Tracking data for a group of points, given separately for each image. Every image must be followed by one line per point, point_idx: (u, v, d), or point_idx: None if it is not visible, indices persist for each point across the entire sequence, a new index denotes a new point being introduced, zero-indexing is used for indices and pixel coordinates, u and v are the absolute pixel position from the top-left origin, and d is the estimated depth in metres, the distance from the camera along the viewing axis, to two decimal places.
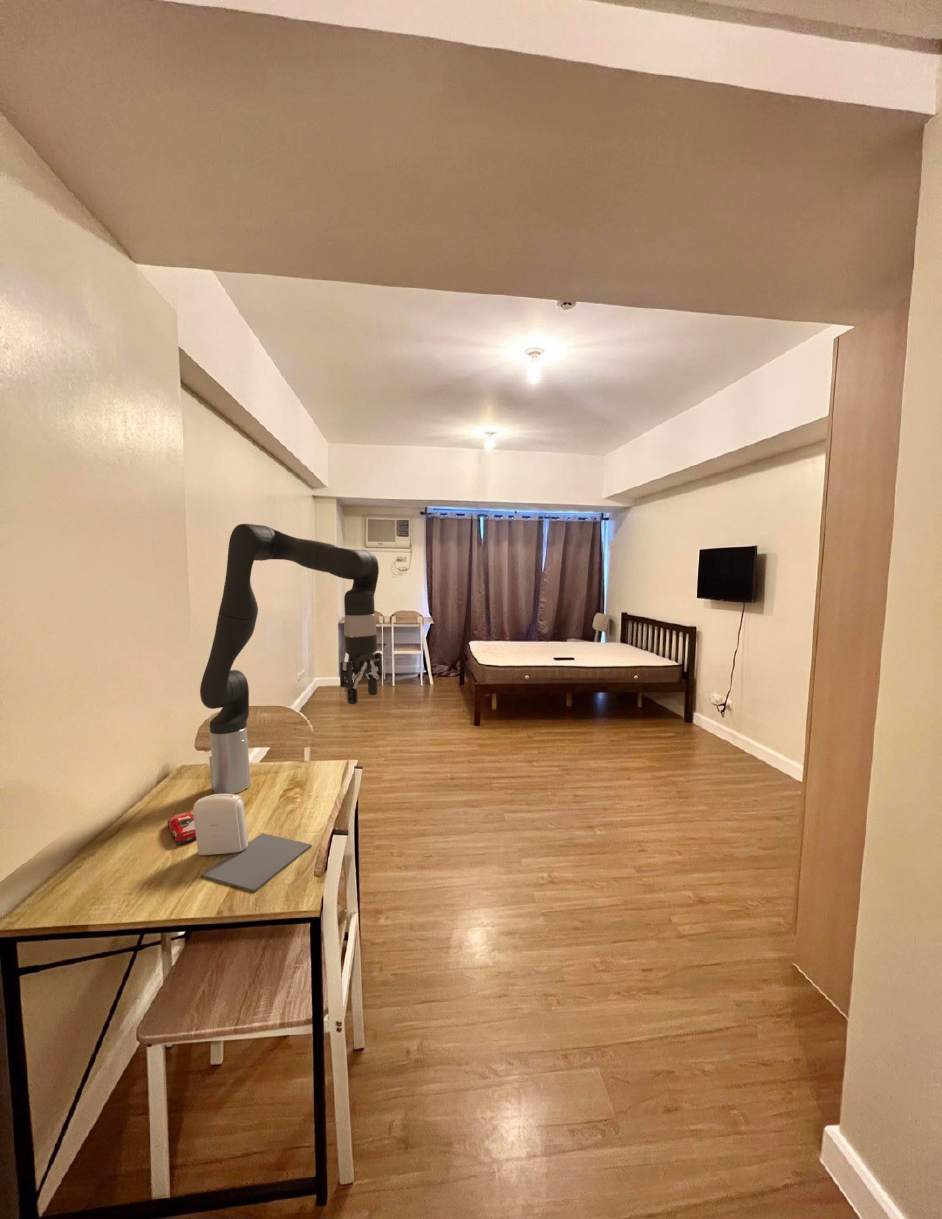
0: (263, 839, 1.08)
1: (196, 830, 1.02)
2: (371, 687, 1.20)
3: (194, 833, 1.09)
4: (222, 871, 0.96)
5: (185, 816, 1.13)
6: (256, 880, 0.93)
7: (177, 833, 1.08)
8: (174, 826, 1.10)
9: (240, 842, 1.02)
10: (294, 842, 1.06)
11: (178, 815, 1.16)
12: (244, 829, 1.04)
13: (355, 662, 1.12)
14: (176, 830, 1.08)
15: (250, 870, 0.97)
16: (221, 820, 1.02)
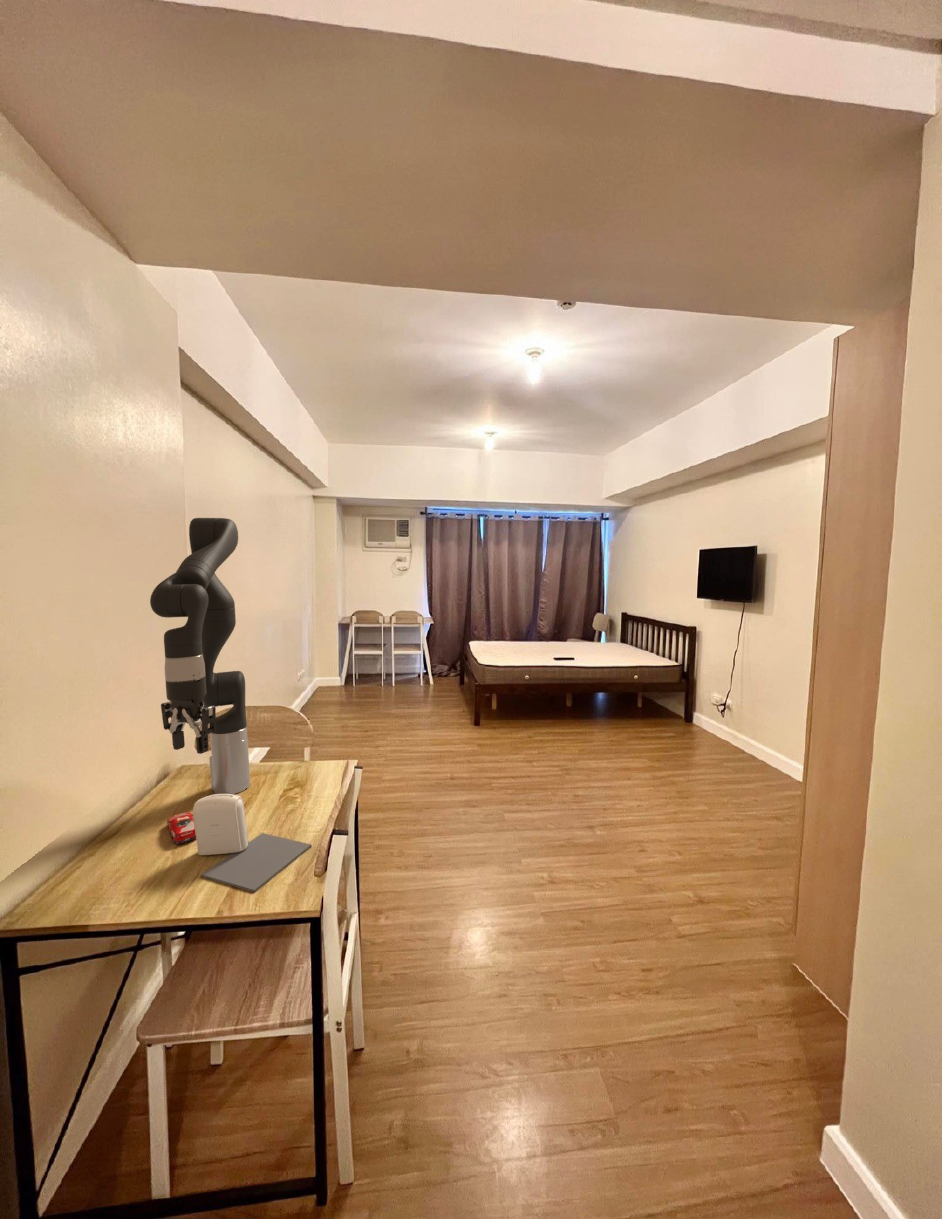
0: (263, 839, 1.08)
1: (196, 830, 1.02)
2: (179, 740, 1.07)
3: (192, 834, 1.08)
4: (222, 871, 0.96)
5: (184, 816, 1.13)
6: (256, 880, 0.93)
7: (175, 833, 1.07)
8: (173, 826, 1.10)
9: (240, 842, 1.02)
10: (294, 842, 1.06)
11: (178, 815, 1.16)
12: (244, 829, 1.04)
13: (204, 705, 1.04)
14: (174, 830, 1.08)
15: (250, 870, 0.97)
16: (221, 820, 1.02)
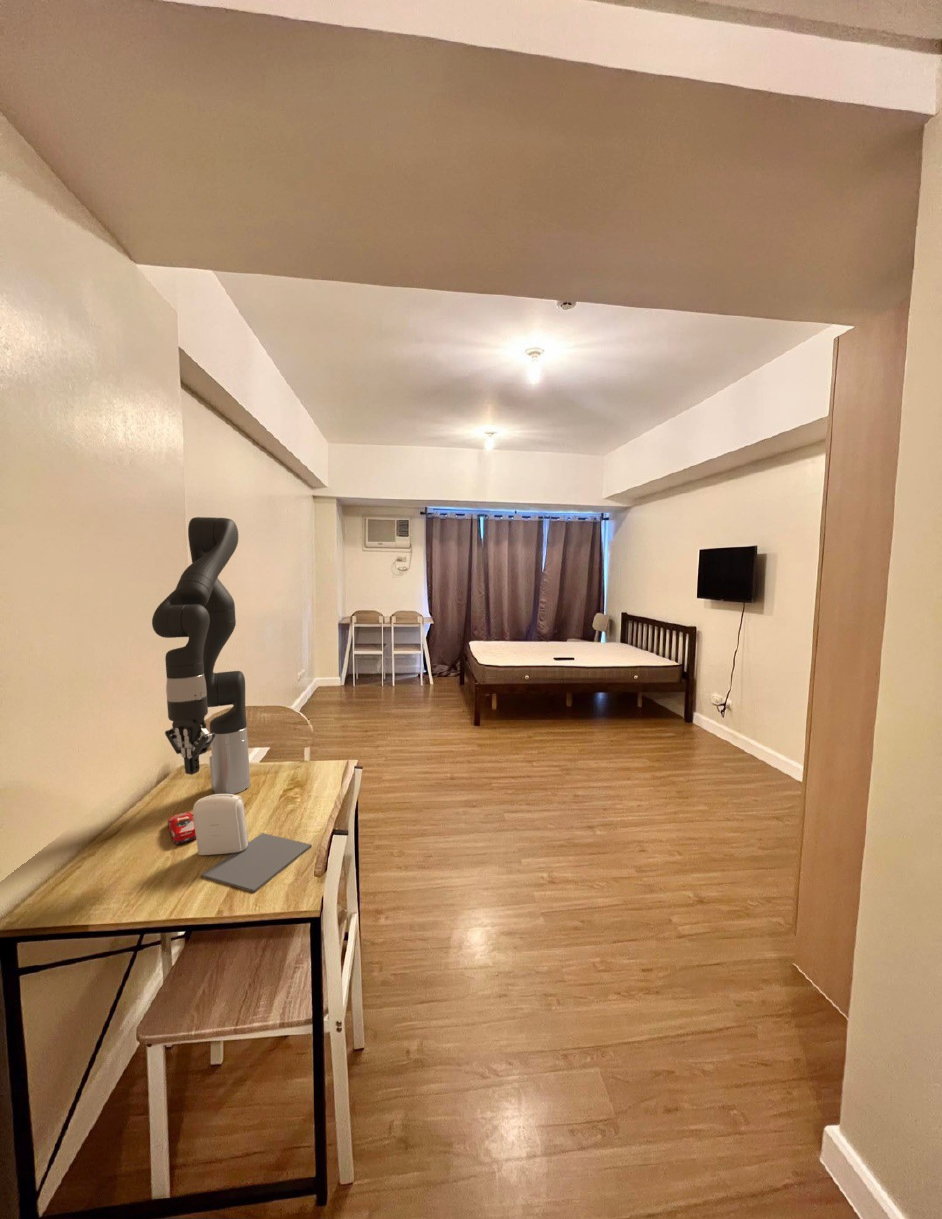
0: (263, 839, 1.08)
1: (196, 830, 1.02)
2: None
3: (192, 834, 1.08)
4: (222, 871, 0.96)
5: (184, 816, 1.13)
6: (256, 880, 0.93)
7: (175, 833, 1.07)
8: (173, 826, 1.10)
9: (240, 842, 1.02)
10: (294, 842, 1.06)
11: (178, 815, 1.16)
12: (244, 829, 1.04)
13: None
14: (174, 830, 1.08)
15: (250, 870, 0.97)
16: (221, 820, 1.02)
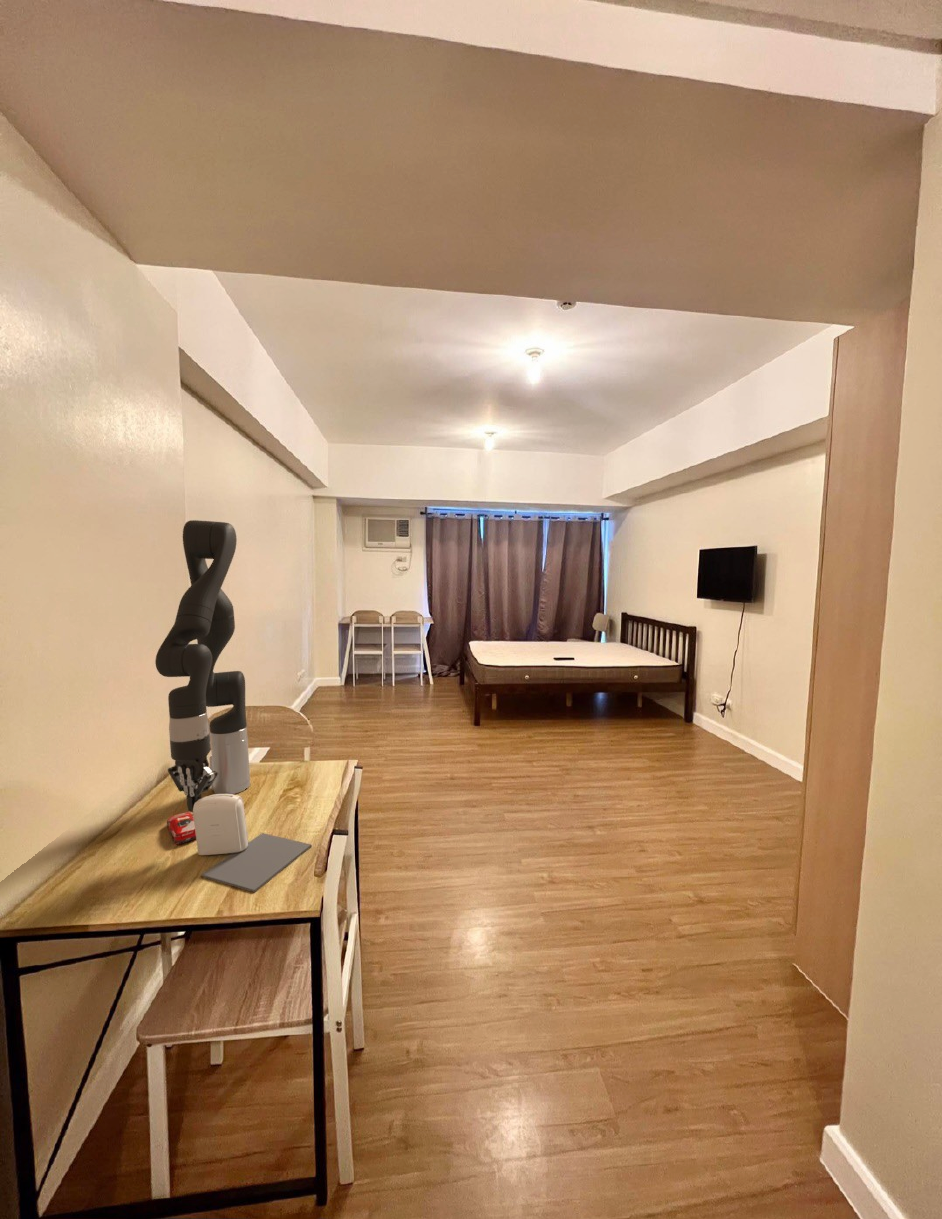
0: (263, 839, 1.08)
1: (196, 830, 1.02)
2: None
3: (193, 833, 1.09)
4: (222, 871, 0.96)
5: (184, 816, 1.13)
6: (256, 880, 0.93)
7: (176, 833, 1.07)
8: (173, 826, 1.10)
9: (240, 842, 1.02)
10: (294, 842, 1.06)
11: (178, 815, 1.16)
12: (244, 829, 1.04)
13: None
14: (175, 830, 1.08)
15: (250, 870, 0.97)
16: (221, 820, 1.02)
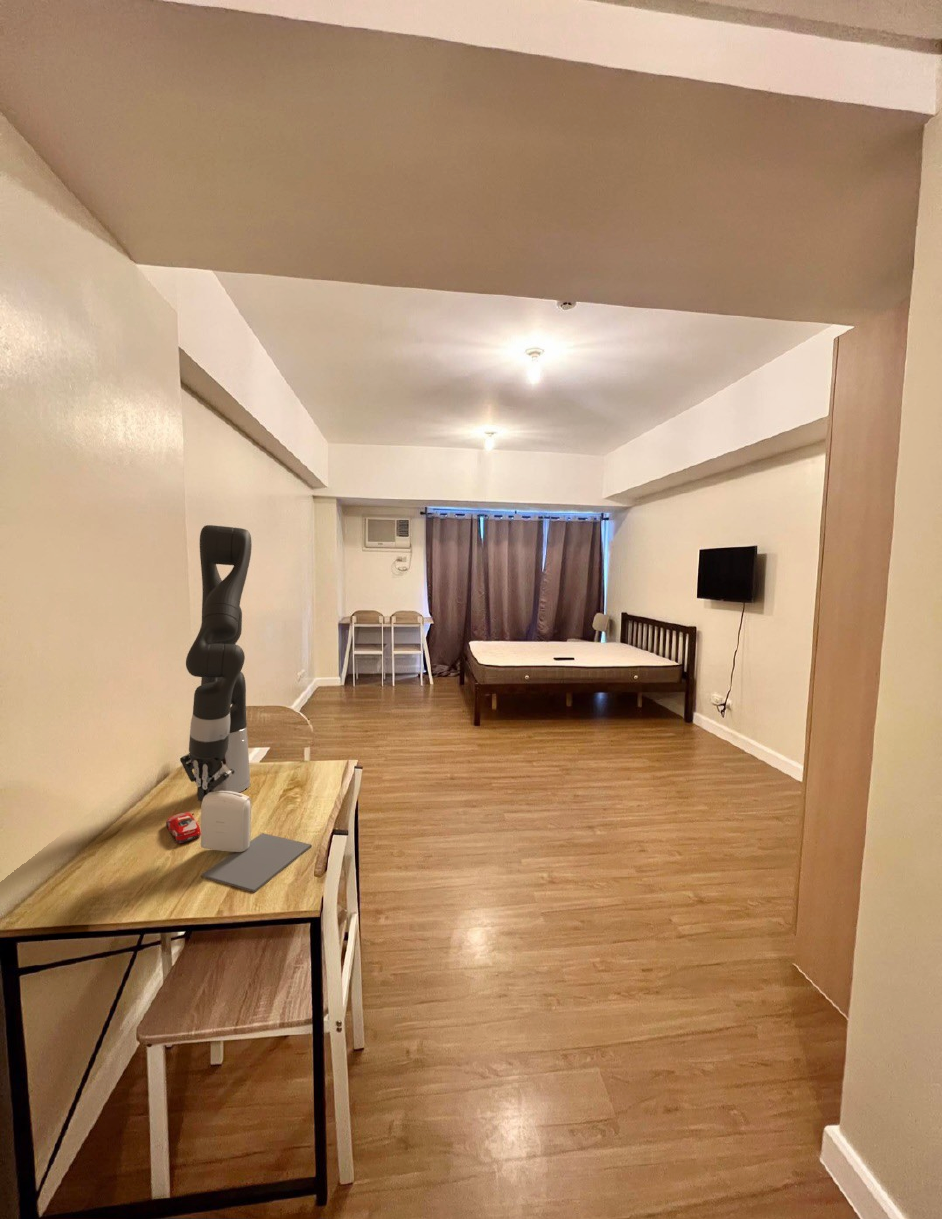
0: (263, 839, 1.08)
1: (202, 823, 1.02)
2: None
3: (195, 832, 1.09)
4: (222, 871, 0.96)
5: (185, 816, 1.13)
6: (256, 880, 0.93)
7: (178, 833, 1.08)
8: (174, 826, 1.10)
9: (242, 843, 1.02)
10: (294, 842, 1.06)
11: (177, 815, 1.16)
12: (248, 830, 1.04)
13: None
14: (176, 830, 1.08)
15: (250, 870, 0.97)
16: (227, 819, 1.01)
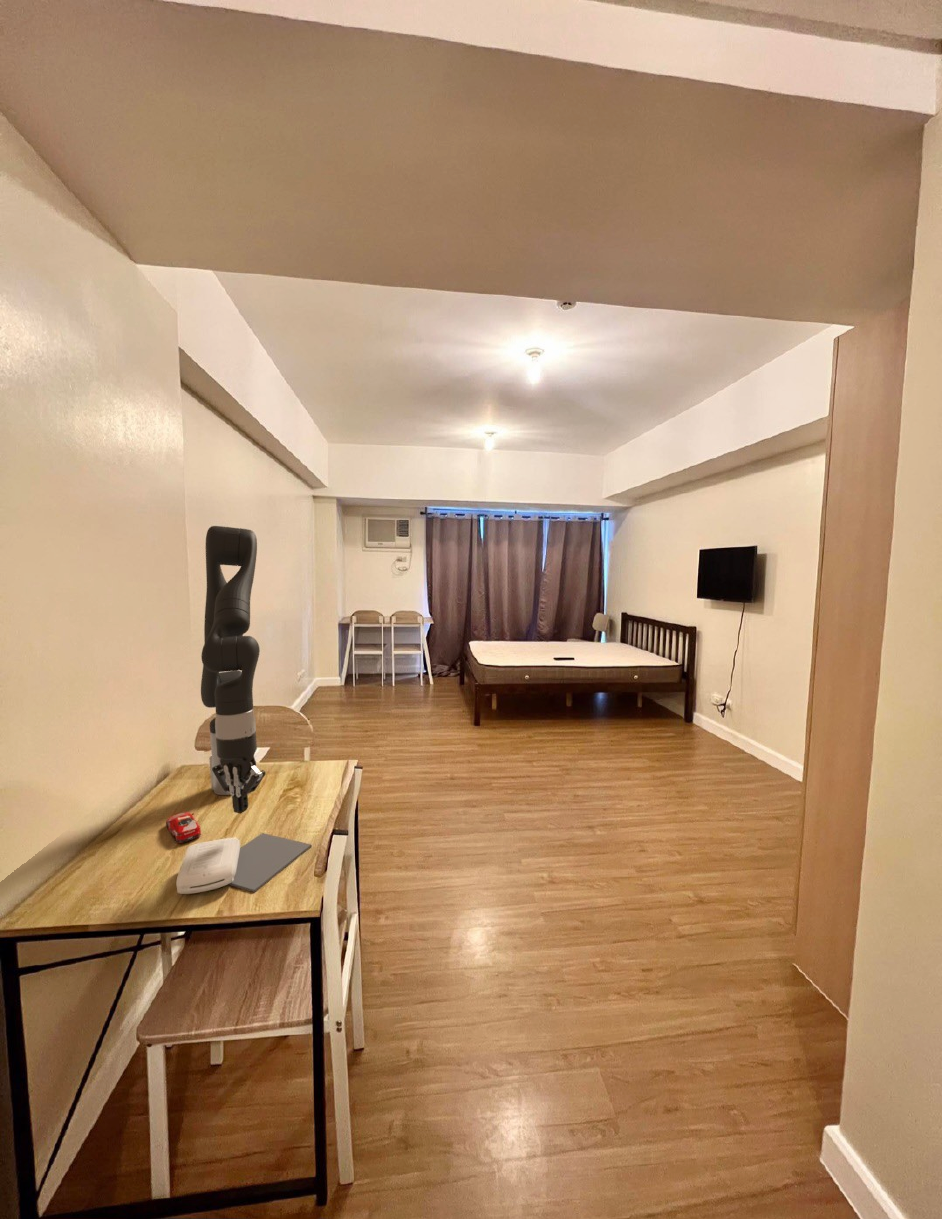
0: (263, 839, 1.08)
1: None
2: None
3: (195, 832, 1.09)
4: None
5: (185, 816, 1.13)
6: (256, 880, 0.93)
7: (178, 832, 1.08)
8: (174, 826, 1.10)
9: None
10: (294, 842, 1.06)
11: (177, 815, 1.16)
12: (238, 855, 0.98)
13: None
14: (176, 830, 1.09)
15: (250, 870, 0.97)
16: None
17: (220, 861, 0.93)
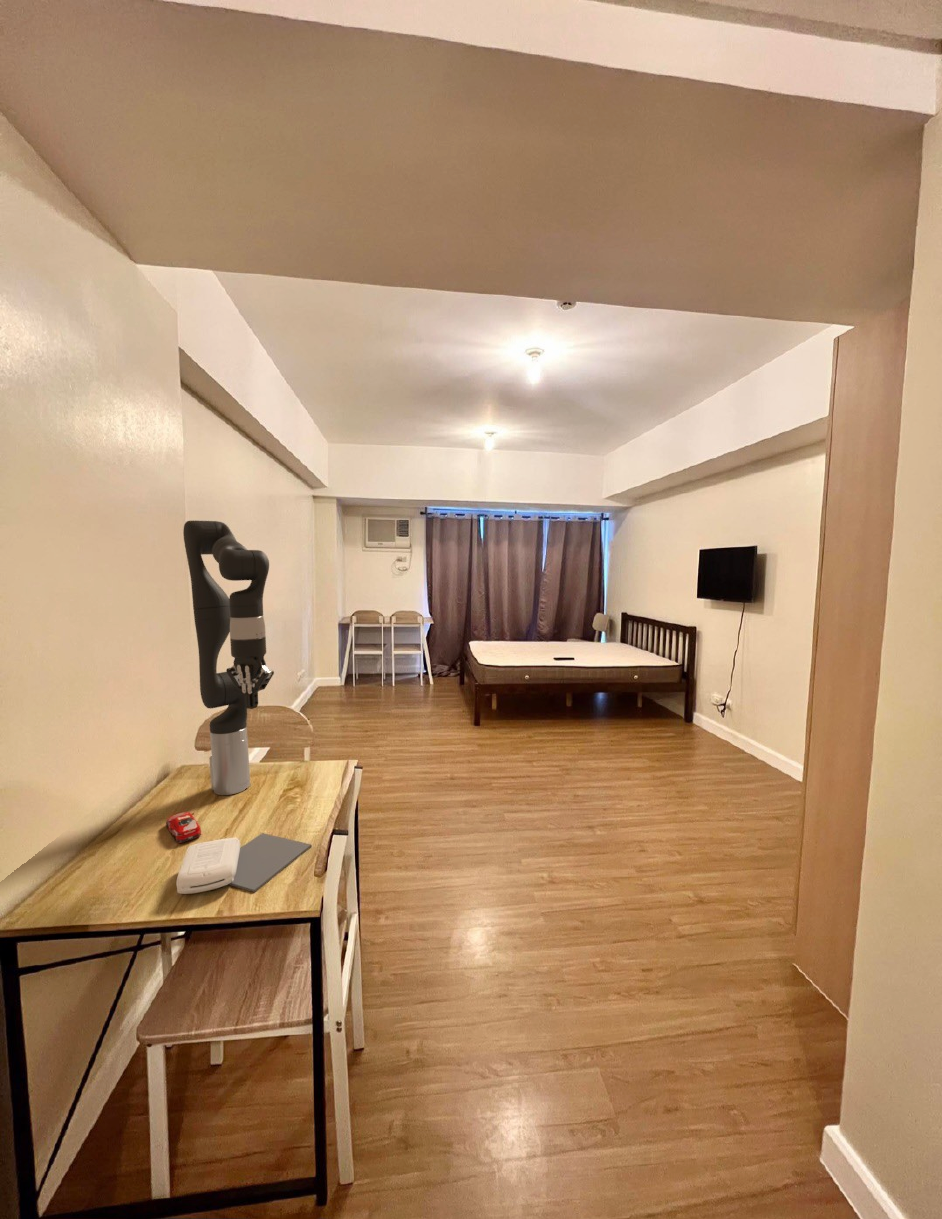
0: (263, 839, 1.08)
1: None
2: None
3: (195, 832, 1.09)
4: None
5: (185, 815, 1.13)
6: (256, 880, 0.93)
7: (178, 832, 1.08)
8: (174, 826, 1.10)
9: None
10: (294, 842, 1.06)
11: (177, 815, 1.16)
12: (238, 855, 0.98)
13: None
14: (177, 829, 1.09)
15: (250, 870, 0.97)
16: None
17: (220, 861, 0.93)
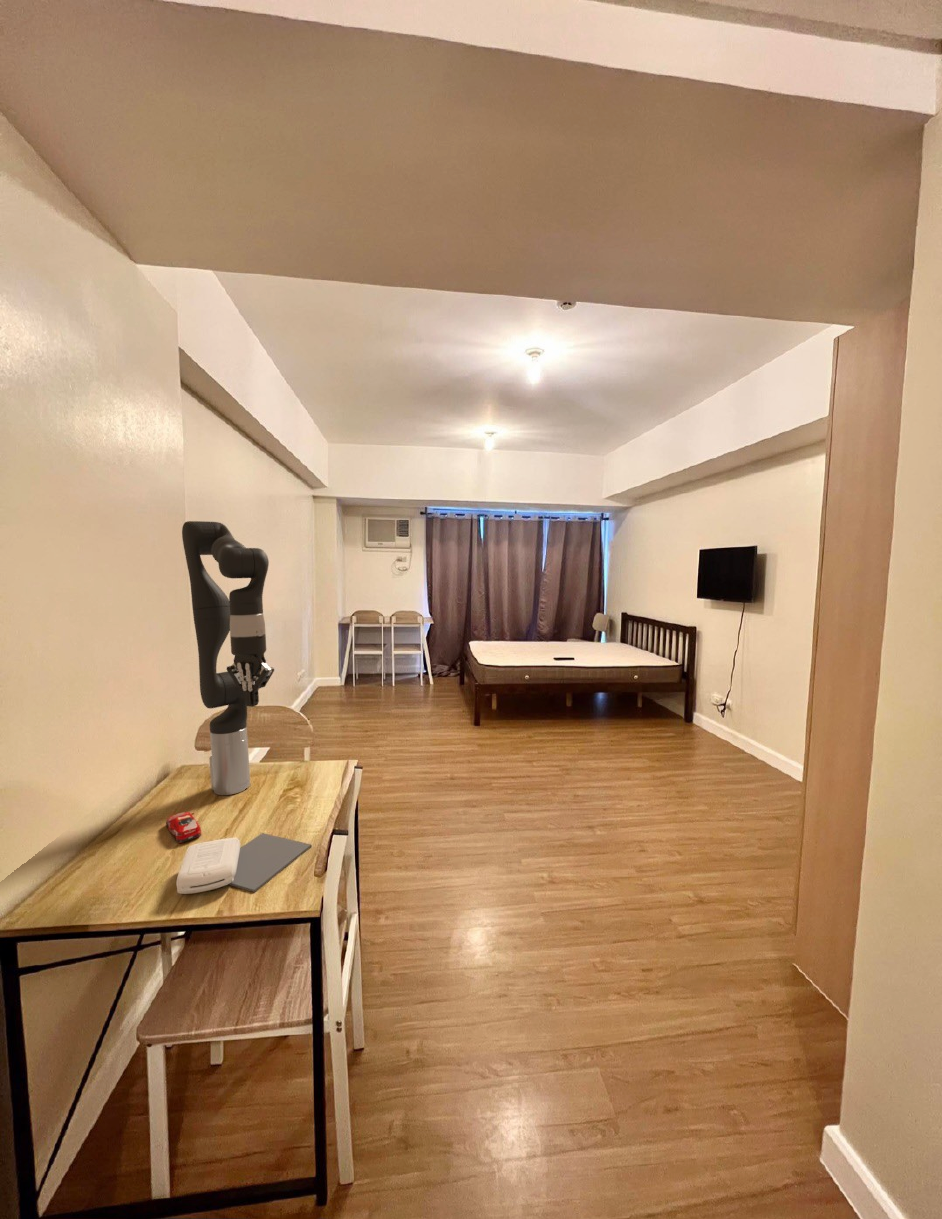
0: (263, 839, 1.08)
1: None
2: None
3: (195, 832, 1.09)
4: None
5: (185, 815, 1.13)
6: (256, 880, 0.93)
7: (178, 832, 1.08)
8: (174, 825, 1.10)
9: None
10: (294, 842, 1.06)
11: (177, 815, 1.16)
12: (238, 855, 0.98)
13: None
14: (177, 829, 1.09)
15: (250, 870, 0.97)
16: None
17: (220, 861, 0.93)
